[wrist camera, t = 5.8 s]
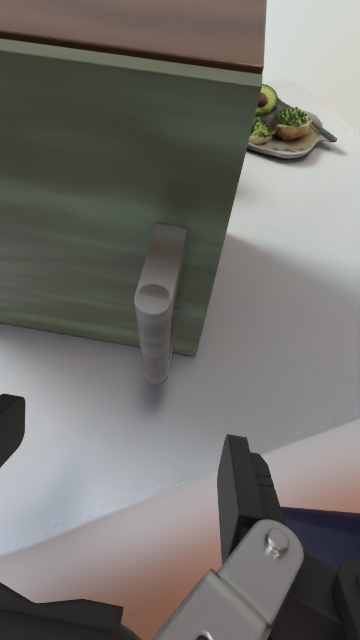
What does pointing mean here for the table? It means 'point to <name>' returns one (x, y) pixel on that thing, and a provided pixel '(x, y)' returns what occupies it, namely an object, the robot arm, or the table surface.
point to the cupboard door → (116, 193)
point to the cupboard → (146, 29)
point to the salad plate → (284, 128)
